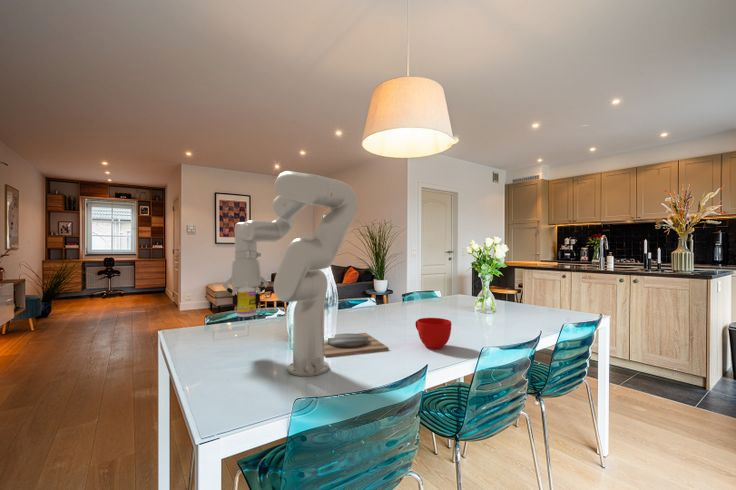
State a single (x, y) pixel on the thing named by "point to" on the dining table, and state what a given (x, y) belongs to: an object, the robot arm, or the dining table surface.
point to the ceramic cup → (434, 332)
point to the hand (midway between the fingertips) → (246, 305)
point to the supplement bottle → (246, 301)
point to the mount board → (359, 350)
